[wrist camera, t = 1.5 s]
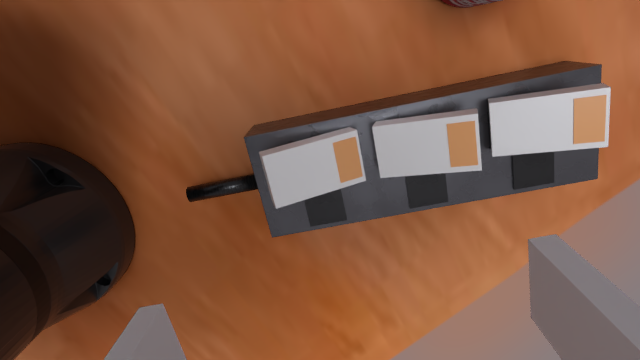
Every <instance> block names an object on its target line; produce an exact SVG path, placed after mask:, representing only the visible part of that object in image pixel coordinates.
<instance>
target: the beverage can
mask: <svg viewBox="0 0 640 360" xmlns="http://www.w3.org/2000/svg"><path fill="white" fill-rule="evenodd" d="M441 1H443V2H445V3H447V4H449V5H452V6H455V7H472V6H477V5H482V4H487V3H492V2H497V1H502V0H441Z"/></svg>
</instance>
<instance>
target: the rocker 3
mask: <svg viewBox="0 0 640 360" xmlns="http://www.w3.org/2000/svg"><path fill="white" fill-rule="evenodd" d="M610 91H611V87H609V86H608V85H606V84H604V83H600V84H593V85H585V86H578V87H571V88H563V89H556V90H549V91H541V92H534V93H527V94H520V95H512V96H505V97H498V98H490V99H488V108H489V124H490V140H491V152H492V157H496V156H508V155H519V154H531V153H543V152H554V151H566V150H578V149H589V148H601V147H608V137H609V114H610Z"/></svg>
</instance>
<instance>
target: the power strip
mask: <svg viewBox="0 0 640 360" xmlns="http://www.w3.org/2000/svg"><path fill="white" fill-rule="evenodd" d="M601 67H602V65H601V64H591V63H581V62H571V61H563V62H559V63H554V64H549V65H544V66H539V67H534V68H529V69H525V70H520V71H515V72H510V73H505V74H500V75H495V76H491V77H486V78H481V79H476V80H471V81H466V82H462V83H457V84H452V85H447V86H442V87H437V88H432V89H428V90H423V91H418V92H413V93H408V94H403V95H398V96H394V97H389V98H384V99H379V100H374V101H369V102H364V103H360V104H355V105H350V106H345V107H340V108H335V109H331V110H326V111H321V112H316V113H311V114H306V115H301V116H297V117H292V118H287V119H282V120H277V121H272V122H267V123H263V124H258V125H254V126H253V127H252V128H251V129H250V131H249V132H248V133H247V134H246V136H245V137H244V139H245V143H246V147H247V150H248V154H249V157H250V161H251V164H252V168H253V171H254V174H253V175H247V176H242V177H237V178H232V179H227V180H222V181H217V182H212V183H206V184H201V185H196V186H191V187H187V189H186V195H187V198H188V200H189V201H190V202H193V201H198V200H204V199H209V198H214V197H219V196H225V195H230V194H235V193H240V192H245V191H251V190H256V189H259V193H260V196H261V200H262V203H263V207H264V210H265V214H266V218H267V221H268V225H269V228H270V232H271V235H272V237H277V236H283V235H288V234H294V233H299V232H305V231H310V230H316V229H321V228H327V227H332V226H338V225H344V224H349V223H355V222H360V221H366V220H371V219H377V218H382V217H388V216H393V215H399V214H405V213H410V212H416V211H421V210H427V209H432V208H438V207H443V206H449V205H455V204H460V203H466V202H471V201H477V200H482V199H488V198H493V197H499V196H504V195H510V194H516V193H521V192H527V191H532V190H538V189H543V188H549V187H554V186H560V185H565V184H571V183H577V182H582V181H588V180H593V179H598V153H599V148H589V149H578V150H566V151H554V152H543V153H531V154H519V155H508V156H496V157H492V152H491V140H490V124H489V108H488V99H490V98H498V97H505V96H512V95H520V94H527V93H534V92H541V91H549V90H556V89H563V88H571V87H578V86H585V85H593V84H600V83H601ZM475 108H477V110H478V121H479V135H480V149H481V163H482V170H480V171H467V172H454V173H440V174H427V175H414V176H400V177H387V178H380V173H379V167H378V161H377V155H376V149H375V143H374V137H373V130H372V126H373V125H374V123H375V122H376V121H383V120H390V119H398V118H406V117H414V116H421V115H429V114H437V113H444V112H452V111H460V110H467V109H475ZM347 127H351V128H354V129H356V130H357V133H358V138H359V144H360V149H361V155H362V160H363V166H364V172H365V177H366V181H364V182H360V183H357V184H354V185H351V186H347V187H344V188H341V189H338V190H335V191H331V192H328V193H325V194H322V195H319V196H315V197H312V198H309V199H306V200H303V201H299V202H296V203H293V204H290V205H287V206H283V207H280V208H277V209H276V208H275V206H274V204H273V202H272V199H271V195H270V191H269V188H268V184H267V180H266V177H265V173H264V169H263V166H262V162H261V158H260V155H259V152H260V151H264V150H267V149H271V148H275V147H278V146H282V145H285V144H289V143H293V142H296V141H300V140H303V139H307V138H311V137H314V136H318V135H321V134H325V133H329V132H332V131H336V130H339V129H343V128H347Z"/></svg>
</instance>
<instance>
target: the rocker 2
mask: <svg viewBox="0 0 640 360" xmlns="http://www.w3.org/2000/svg"><path fill="white" fill-rule="evenodd" d="M372 130H373V137H374V143H375V149H376V155H377V161H378V167H379V173H380V178H387V177H400V176H414V175H427V174H440V173H454V172H467V171H480V170H482V163H481V149H480V135H479V121H478V110H477V108H475V109H467V110H460V111H452V112H444V113H437V114H429V115H421V116H414V117H406V118H398V119H390V120H383V121H376V122H375V123H374V125H373V126H372Z"/></svg>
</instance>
